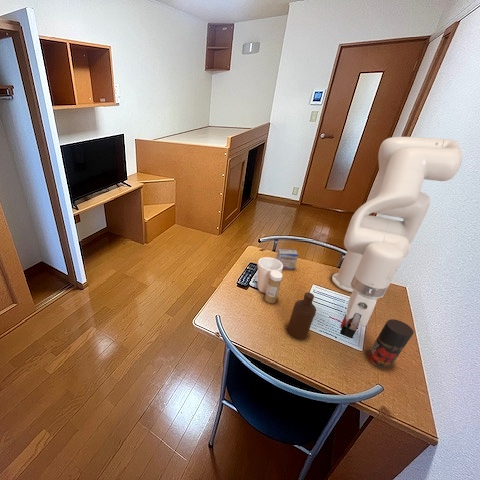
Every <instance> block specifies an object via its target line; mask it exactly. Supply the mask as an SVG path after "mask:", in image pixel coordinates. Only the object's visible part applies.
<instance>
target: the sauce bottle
mask: <svg viewBox="0 0 480 480" xmlns="http://www.w3.org/2000/svg"><path fill="white" fill-rule="evenodd" d="M314 299H315V295H314V294H313V293H312V292H308V291H307V292H305V293H304V294H303V298H302V299H299V300H296V301H295V302H294V305H293V308H292V311H291V315H290V318H289V320H288V324H287V327H286V331H287V334H288V335H289V336H291V337H292V338H293V339H296V340H299V341H301V340H305V339H307V337H308V334H309V333H310V332H309V331H310V329H311V326H312V324H313V321H314V319H315V316H316V314H317V307H316V306H315V304H314V303H313V301H314Z"/></svg>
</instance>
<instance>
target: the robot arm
mask: <svg viewBox="0 0 480 480" xmlns="http://www.w3.org/2000/svg"><path fill="white" fill-rule="evenodd" d="M379 146H380V147H379V149H378V156H377V157H378V158H377V161H378V175H377V178H376V181H375V183H374V186H373V189H372V191H371V194H370V196H369V199H368V201H365V203H363V204H362V205H360V206H359V207H358V209H356V211H354V213H353V215H352V216H351V219H350V221H349V223H348V226H347V229H346V233H345V234H344V238H343V246H344V248H345V249H346V253H345V255H344V258H343V260H342V263H341V265H340V268H339V270H338V272H335V273H334V274H332V277H331V281H332V283H334V285H335V286H336V287H337V288H339V289H341V290H342V291H345V292H348V293H351V294H350V296H349V299H348V303H347V307H346V313H345V315H344V316H343V319H344V318H345V317H346V320H347V321H346V323H345V324H344V325H343V327H342V329H341V328H340V331H339V334H340V335H341V336H344V337H346V338H349V339H353V338H354V336H355V335H356V332H357V329H358V328H359V326H360V327H362V328H366V327H367V325H368V323H369V321H370V318H371V316H372V314H373V311H374V310H375V307H376V304H377V301H378V299H380V298H381V299H382V298H383V297H384V296H385V294H386V292H387V290H388V288H389V286H390V285H391V283H392V280H393V279H394V277H395V275H396V273H397V271H398V269H399V268H400V266H401V264H402V262H403V261H404V259H405V258H406V257H407V255H408V254H409V253H410V250H411V247H412V246H411V244H412V243H413V241H414V238H415V237H416V235H417V232H418V230H419V229H420V227H421V225H422V222H423V221H424V219H425V216H426V215H427V213H428V210H429V207H430V204H431V198H430V196H429V195H428V194H427V193H425V192H421V189H422V185H423V183H424V180H428V181H437V182H447V181H449V180H450V181H451V180H452V179H453V178H454V177H455V176H456V175H457V174H458V172H459V171H460V168H461V167H462V166H461V165H462V163H463V153H462V149H461V147H460V145H459V143H458V142H457V141H456V140H454V139H450V138H439V137H438V138H437V137H436V138H435V137H420V136H419V137H418V136H393V137H388V138H386V139H384V140H383V141H382V143H381V144H380V145H379ZM373 213H374V214H376V215H370V214H373ZM377 214H378V215H381V216H377ZM382 216H386V217H382ZM387 216H388V217H393V218H399V219H402V220H398V219H393V218H387ZM349 321H351V324H350V323H349ZM358 325H359V326H358ZM357 327H358V328H357Z"/></svg>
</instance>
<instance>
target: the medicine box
mask: <svg viewBox="0 0 480 480" xmlns="http://www.w3.org/2000/svg"><path fill="white" fill-rule="evenodd" d="M298 257H299V253H298V251H297V250H296V249H288V248H286V249H285V248H278V249H277V253H276V257H275V259H277V260H279V261H280V262H281V263H282V264H283V269H282V270H295V268H296V265H297V261H298V259H299V258H298Z"/></svg>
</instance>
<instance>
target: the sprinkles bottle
mask: <svg viewBox="0 0 480 480" xmlns="http://www.w3.org/2000/svg"><path fill="white" fill-rule="evenodd" d="M282 279H283V273H282V272H279V271H271V272H270V274H269V281H268V285H267V289H266V293H264V298H263V299H264V301H266V302H267V303H270V304H275V303H276V302H277V297H278V294H279V290H280V286H281V282H282Z"/></svg>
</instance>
